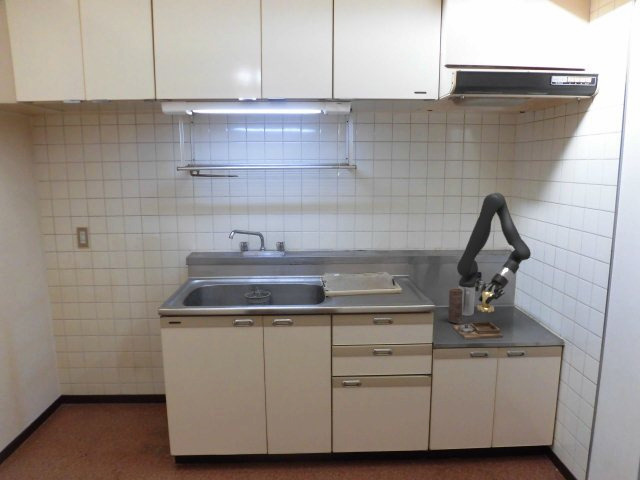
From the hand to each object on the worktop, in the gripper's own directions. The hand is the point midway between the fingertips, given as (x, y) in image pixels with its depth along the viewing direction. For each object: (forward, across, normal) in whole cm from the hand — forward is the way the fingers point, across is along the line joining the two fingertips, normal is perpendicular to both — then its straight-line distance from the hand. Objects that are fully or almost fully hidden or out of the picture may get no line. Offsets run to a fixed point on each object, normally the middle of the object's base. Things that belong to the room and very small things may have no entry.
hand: (483, 301), depth 216 cm
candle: (+15, -17, +9) cm, 25 cm away
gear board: (+13, -1, +11) cm, 17 cm away
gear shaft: (+2, 0, +5) cm, 5 cm away
